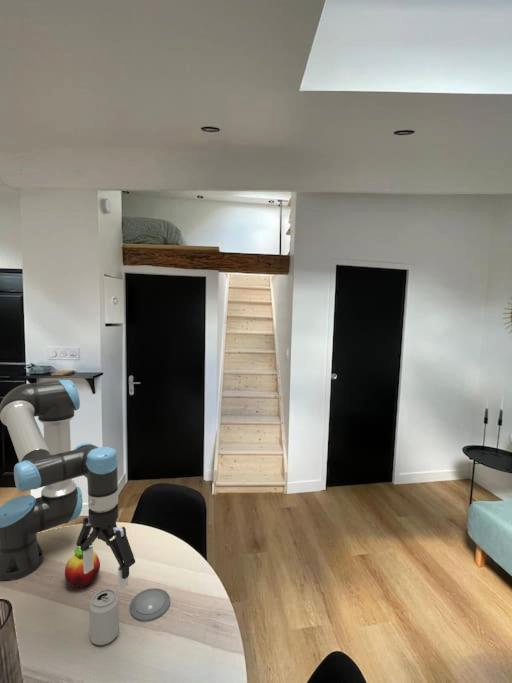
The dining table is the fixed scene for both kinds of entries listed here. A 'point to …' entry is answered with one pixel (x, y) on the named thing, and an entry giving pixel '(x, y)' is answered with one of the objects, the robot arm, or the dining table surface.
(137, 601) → the saucer
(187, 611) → the dining table surface
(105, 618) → the can
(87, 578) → the fruit
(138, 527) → the dining table surface
